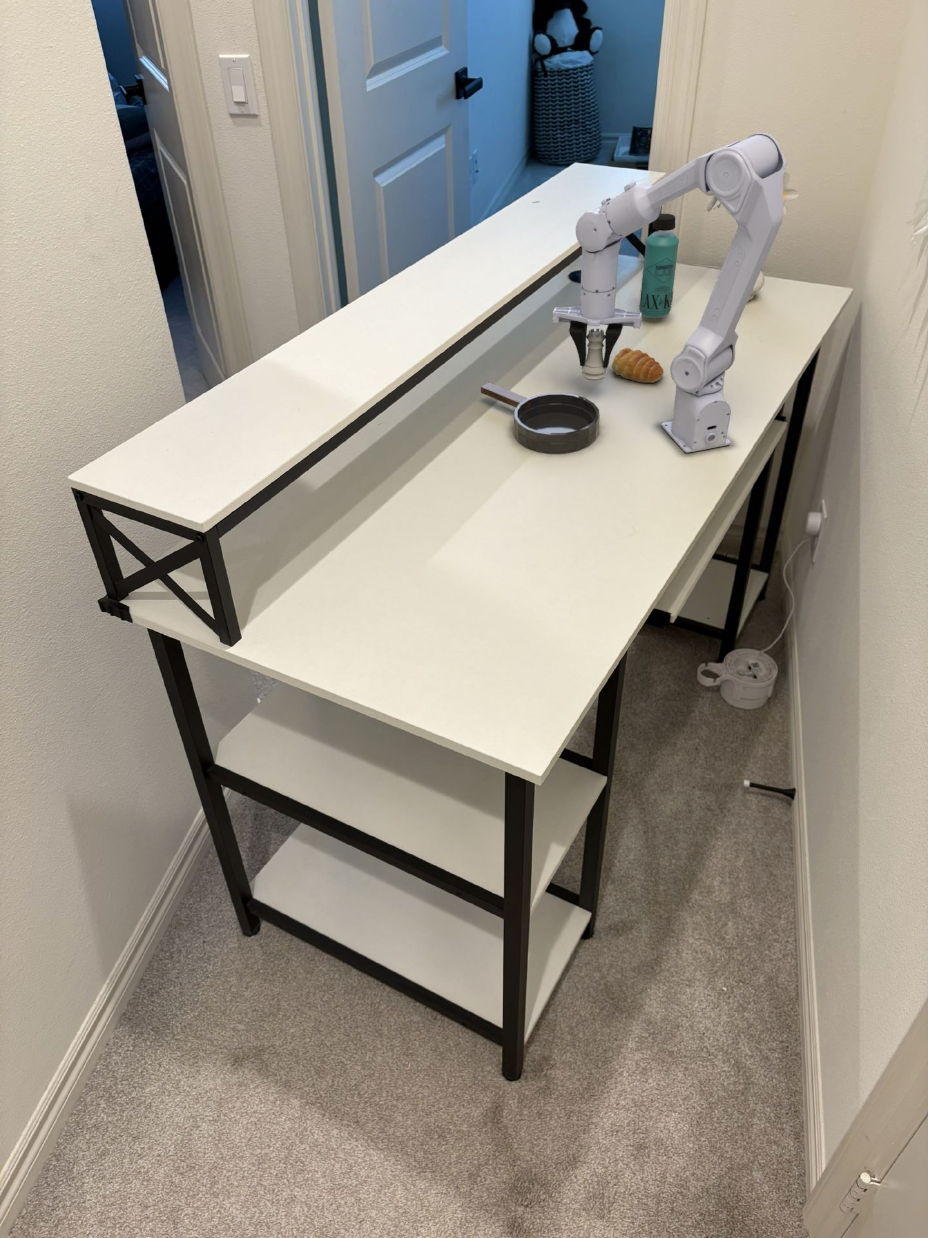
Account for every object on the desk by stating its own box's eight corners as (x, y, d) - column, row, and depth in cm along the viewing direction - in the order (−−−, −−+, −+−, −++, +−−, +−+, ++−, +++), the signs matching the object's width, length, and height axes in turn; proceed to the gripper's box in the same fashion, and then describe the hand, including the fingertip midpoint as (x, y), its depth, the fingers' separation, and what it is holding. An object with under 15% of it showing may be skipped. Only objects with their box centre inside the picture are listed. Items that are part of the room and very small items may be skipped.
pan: (611, 445, 145) (612, 425, 143) (529, 460, 143) (529, 441, 140) (580, 406, 155) (581, 387, 153) (503, 419, 153) (503, 400, 150)
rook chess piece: (586, 383, 152) (588, 338, 147) (577, 372, 155) (578, 328, 150) (610, 379, 153) (613, 334, 148) (601, 368, 156) (603, 324, 151)
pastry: (671, 375, 162) (673, 356, 159) (648, 389, 158) (650, 369, 156) (629, 361, 167) (631, 341, 164) (607, 374, 164) (608, 354, 161)
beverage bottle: (631, 316, 182) (640, 213, 169) (659, 309, 184) (669, 207, 171) (649, 327, 178) (659, 223, 164) (677, 320, 179) (689, 216, 166)
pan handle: (531, 406, 151) (531, 399, 151) (523, 410, 150) (523, 404, 150) (489, 388, 157) (489, 382, 156) (480, 392, 156) (480, 386, 155)
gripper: (549, 292, 143) (548, 371, 152) (640, 298, 139) (633, 378, 148) (557, 276, 148) (555, 353, 157) (645, 280, 144) (638, 359, 153)
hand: (594, 364), depth 153 cm, fingers closed on rook chess piece, 3 cm apart
